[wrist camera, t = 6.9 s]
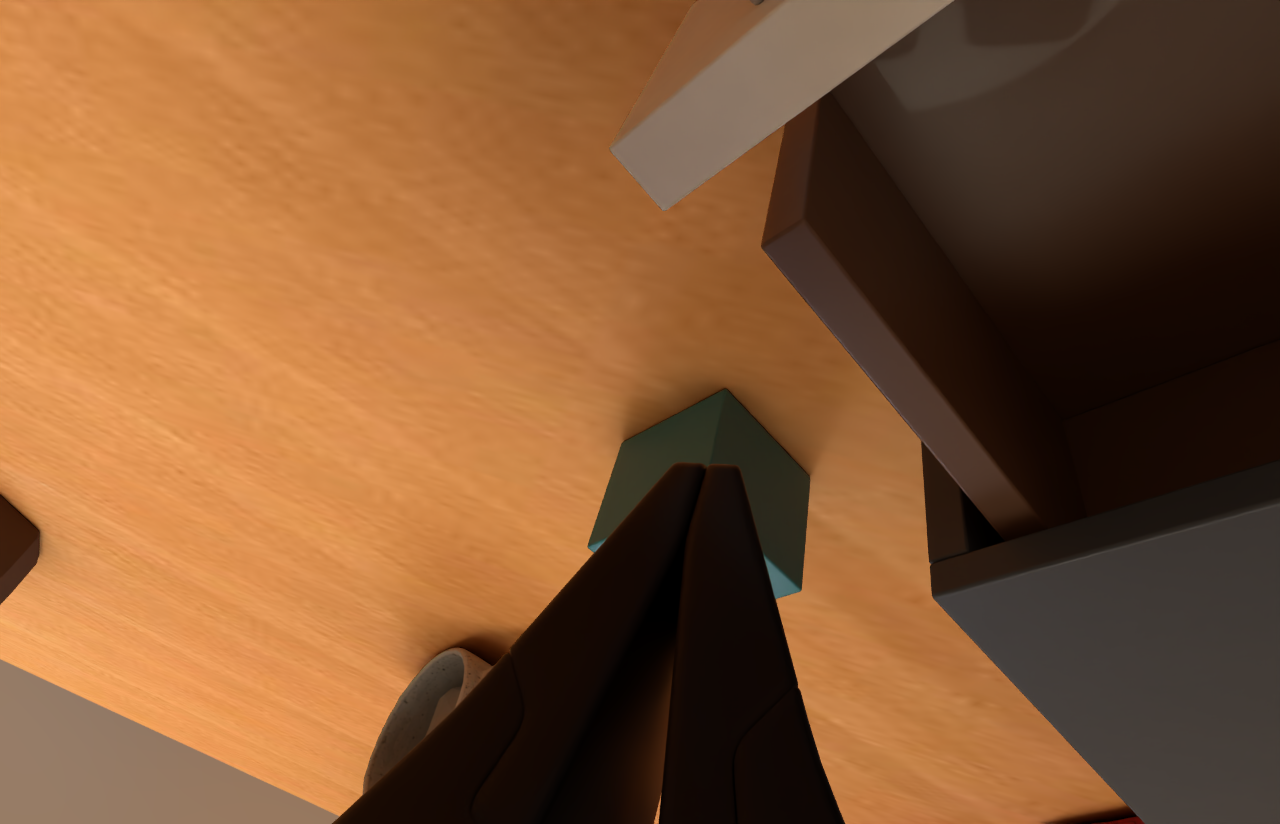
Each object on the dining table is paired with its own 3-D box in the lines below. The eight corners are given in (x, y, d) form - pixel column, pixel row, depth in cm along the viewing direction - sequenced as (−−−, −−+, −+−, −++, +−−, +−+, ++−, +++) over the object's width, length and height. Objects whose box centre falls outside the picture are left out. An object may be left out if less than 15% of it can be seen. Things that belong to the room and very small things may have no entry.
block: (726, 387, 23) (702, 497, 20) (811, 477, 25) (802, 591, 22) (621, 442, 26) (585, 547, 23) (705, 520, 27) (683, 628, 24)
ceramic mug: (530, 742, 43) (481, 897, 37) (406, 669, 40) (333, 825, 35) (658, 692, 37) (623, 870, 31) (521, 602, 34) (455, 779, 28)
